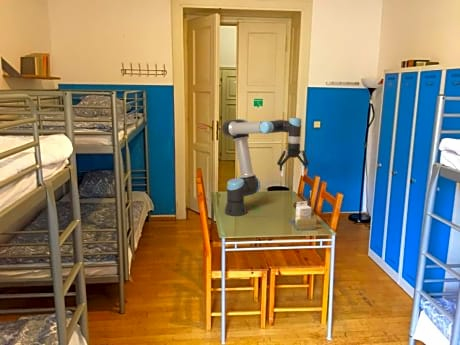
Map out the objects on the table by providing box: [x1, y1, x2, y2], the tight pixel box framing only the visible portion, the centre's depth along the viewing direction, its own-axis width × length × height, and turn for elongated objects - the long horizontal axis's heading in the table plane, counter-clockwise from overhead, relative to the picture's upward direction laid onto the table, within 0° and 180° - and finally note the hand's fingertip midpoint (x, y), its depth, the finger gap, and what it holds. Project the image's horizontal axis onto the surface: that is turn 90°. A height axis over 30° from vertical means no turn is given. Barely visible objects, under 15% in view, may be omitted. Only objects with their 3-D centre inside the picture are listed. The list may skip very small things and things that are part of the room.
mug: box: [292, 200, 312, 210], centre depth 275 cm, size 12×8×9 cm, turn 85°
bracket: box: [288, 217, 317, 231], centre depth 253 cm, size 12×18×7 cm, turn 9°
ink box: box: [295, 200, 313, 225], centre depth 251 cm, size 9×5×15 cm, turn 113°
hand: (292, 175), depth 258 cm, fingers open, 13 cm apart
